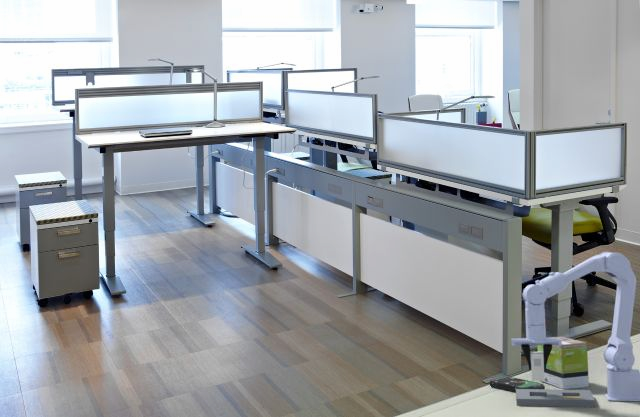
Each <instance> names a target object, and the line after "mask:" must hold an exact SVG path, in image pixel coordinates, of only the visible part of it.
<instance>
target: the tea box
mask: <svg viewBox="0 0 640 417" xmlns="http://www.w3.org/2000/svg"><path fill="white" fill-rule="evenodd" d="M549 338H556V339H561V341H562V346H558V345H552V350H551V352H550V355H549V358H548V361H547V365H546V370H544V381H541V382H543V383H546V384H548V385H551V386H554V387H555V388H556V387H557V388H559V389H560V390H573V389H580V388H582V389H583V388H587V387H589V386H590V384H589V379H590V378H589V362H588V360H589V358H588V357H589V356H588V342H587V341H586V342H585V341H581V340H577V339H573V338H570V337H569V338H568V337H565V336H553V337H552V336H551V337H550V336H549ZM536 344H545V343H536ZM546 344H547V343H546ZM536 347H537V352H543V345H536Z"/></svg>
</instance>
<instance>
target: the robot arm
mask: <svg viewBox="0 0 640 417" xmlns="http://www.w3.org/2000/svg"><path fill="white" fill-rule="evenodd" d="M592 272H597V273H598V272H600V273H601V272H602V273H604V274H606V275H608V276H610V278H611V279H612V280H613V281H614V282H615V283H616V293H615V302H614V309H613V310H614V312H613V320H612V328H611V335H610V337H609V338H608V340H607V346H606V347H605V348H604V349H603V354H602V355H603V359H604V361H605V362H606V388H607V390H606V391H607V393H605V394H604V396H605V397H606V399H607V401H609V402H640V369H635V368H633V366H634V365H635V361H636V360H635V355H634V352H633V347H634V346H633V343H632V341H631V340H632V339H631V332H632V326H633V325H632V323H633V316H634V306H635V305H634V304H635V297H636V289H637V278H636V275H635V273H634V271H633V269H632V267H631V261H630V260H629V259H628V258H627V257H626V256H625V255H624V254H622V253H621V252H610V251H603V252H601V253H599V254H596V255H593V256H591V257H590V258H588V259H586V260H584V261H583V262H581V263H579V264H576V265H575V266H573V267H572V268H570V269H569V270H567V271H565V272H559V271H557V272H556V271H555V272H554V271H552V272H551V271H550V272H549V273H548V276H546V277H544V278H542V279H540V280H539V279H537V280H535V281H534V282H535V284H528V285H526V287H525V288H524V289H523V291H522V294H521V295H522V298H523V300H524V302H525V303H524V304H525V305H524V306H525V309H524V311H525V312H524V314H525V336H526V337H521V338H520V337H519V338H511V346H513V347H515V346H516V347H517V346H521V350H522V352H523V354H524V357H525V358H526V361H527V366H528V370H529V371H531V354H530V352H531V347H530V346H537V345H543V358H544V370H546V365H547V361H548V358H549V355H550V352H551V350H552V345H558V346H562V341H561V339H556V338H550V337H547V331H546V330H547V329H546V310H545V309H546V308H545V302H546V301H547V299H550V298H551V297H553V296H555V295H557V294H559V293H560V292H563V291H565V290H566V289H567V288H568V285H569V283H571V282H573V281H575V280H577V279H580V278H582V277H584V276H586V275H589V274H590V273H592ZM537 343H545V344H537ZM546 343H547V344H546Z"/></svg>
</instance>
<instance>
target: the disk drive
mask: <svg viewBox="0 0 640 417" xmlns="http://www.w3.org/2000/svg"><path fill="white" fill-rule="evenodd" d="M526 382H527V383H526ZM490 386H491V387H492V388H491V389H495V390H501V391H504V392H509V393H513V394H516V389H545V384H544V383H540V382H539V381H532V380H527V379H524V378H523V379H522V378H518V377H512V376H511V377H510V376H509V377H506V378H504V377H503V378H498V379H497V380H496V379H493V380H489V387H490Z"/></svg>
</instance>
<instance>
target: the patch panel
mask: <svg viewBox="0 0 640 417" xmlns="http://www.w3.org/2000/svg"><path fill="white" fill-rule="evenodd" d="M515 398H516V399H515V400H516V406H519V407H521V406H523V407H524V406H526V407H530V406H531V407H533V406H534V407H563V408H564V407H566V408H567V407H569V408H576V407H577V408H596V399H595V397H594V396H593V393H592V392H591V390H590V389H516V393H515Z"/></svg>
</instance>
